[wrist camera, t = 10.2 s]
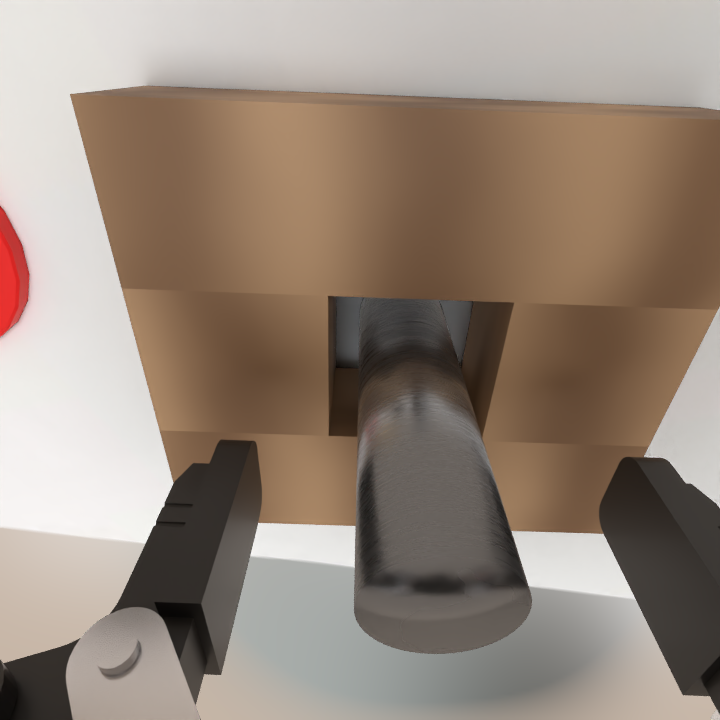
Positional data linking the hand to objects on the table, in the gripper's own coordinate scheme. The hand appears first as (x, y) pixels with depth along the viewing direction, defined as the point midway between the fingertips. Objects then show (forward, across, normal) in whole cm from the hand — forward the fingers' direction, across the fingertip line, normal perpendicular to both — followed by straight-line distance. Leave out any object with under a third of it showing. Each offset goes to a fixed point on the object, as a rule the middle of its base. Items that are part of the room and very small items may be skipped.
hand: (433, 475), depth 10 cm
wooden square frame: (+8, 0, 0) cm, 8 cm away
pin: (+8, 0, 0) cm, 8 cm away
